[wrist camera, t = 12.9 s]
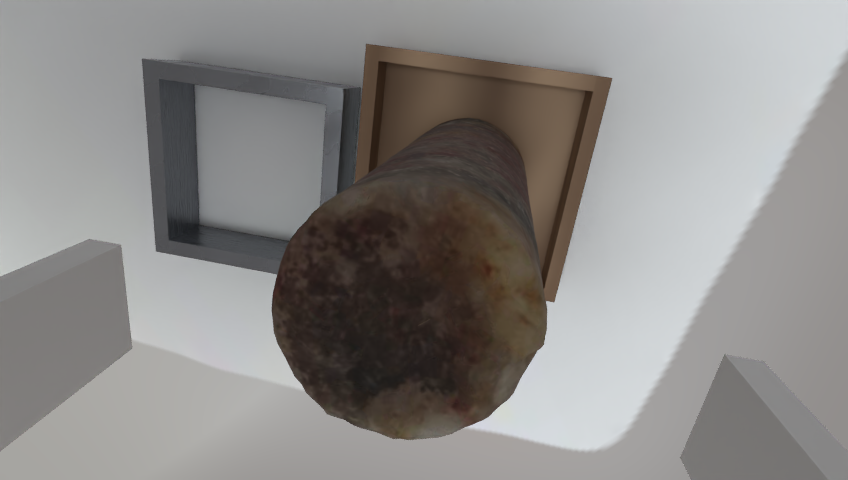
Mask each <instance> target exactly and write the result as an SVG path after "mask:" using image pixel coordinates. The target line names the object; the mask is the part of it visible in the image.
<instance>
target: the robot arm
mask: <svg viewBox="0 0 848 480" xmlns="http://www.w3.org/2000/svg"><path fill="white" fill-rule="evenodd" d="M131 349H132V342H131V333H130V323H129V314H128V305H127V296H126V286H125V277H124V268H123V259H122V250H121V245H119V244H114V243H108V242H103V241H97V240H92V239H88V240H86V241H84V242H81V243H79V244H77V245H74V246H72V247H69V248H67V249H65V250H62V251H60V252H58V253H55V254H53V255H51V256H48V257H46V258H43V259H41V260H39V261H36V262H34V263H32V264H29V265H27V266H25V267H22V268H20V269H17V270H15V271H13V272H10V273H8V274H6V275H3V276H1V277H0V451H1V450H2V449H4V448H5V447H6V446H8V445H9V444H10V443H11V442H13V441H14V440H15V439H17V438H18V437H19V436H20V435H21V434H23V433H24V432H26V431H27V430H28V429H29V428H31V427H32V426H33V425H35V424H36V423H37V422H38V421H40V420H41V419H42V418H43V417H45V416H46V415H47V414H49V413H50V412H51V411H52V410H54V409H55V408H56V407H58V406H59V405H60V404H61V403H63V402H64V401H65V400H67V399H68V398H69V397H70V396H72V395H73V394H74V393H75V392H77V391H78V390H79V389H81V388H82V387H83V386H84V385H86V384H87V383H88V382H90V381H91V380H92V379H94V378H95V377H96V376H97V375H99V374H100V373H101V372H102V371H104V370H105V369H106V368H108V367H109V366H110V365H112V364H113V363H114V362H115V361H117V360H118V359H119V358H121V357H122V356H123V355H124V354H126V353H127V352H128V351H129V350H131ZM680 458H681V460H682V462H683V464H684V466H685V468H686V470H687V472H688V474H689V476H690V478H691V480H848V450H847V449H846V448H845V447H844V446H843V445H842V444H841V443H840V442H839V441H838V440H837V439H836V438H835V437H834V436H833V435H832V433H831V432H830V431H829V430H828V429H827V428H826V427H825V426H824V425H823V424H822V423H821V422H820V421H819V420H818V419H817V417H816V416H815V415H814V414H813V413H812V412H811V411H810V410H809V409H808V408H807V407H806V406H805V405H804V404H803V403H802V402H801V400H800V399H799V398H798V397H797V396H796V395H795V394H794V393H793V392H792V391H791V390H790V389H789V388H788V387H787V386H786V385H785V383H784V382H782V380H781V379H780V378H779V377H778V376H777V375H776V374H775V373H774V372H773V371H772V370H771V369H770V367H769V366H767V364H766V363H765V362H764V361H759V360H753V359H748V358H742V357H737V356H731V355H726V354H725V355H724V357H723V359H722V361H721V364H720V366H719V368H718V371H717V373H716V375H715V378H714V380H713V382H712V385H711V387H710V389H709V392H708V394H707V397H706V399H705V401H704V403H703V406H702V408H701V411H700V413H699V415H698V417H697V420H696V422H695V424H694V427H693V429H692V431H691V434H690V436H689V438H688V441H687V443H686V445H685V448H684V450H683V452H682V455H681V457H680Z"/></svg>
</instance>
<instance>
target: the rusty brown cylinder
mask: <svg viewBox="0 0 848 480" xmlns="http://www.w3.org/2000/svg"><path fill="white" fill-rule="evenodd" d="M272 316H273V327H274V334H275V337H276V340H277V343H278V345H279V347H280V349H281V350H282V352H283V354H284V356H285V358H286V360H287V362H288V364H289V366H290V368H291V370H292V372H293V374H294V376H295V377H296V379H297V380H298V381H299V382H300V383H301V384H302V386H303V388H304V389H305V391H306V393H307V394H308V395H309V396H310V397H311V398H312V399H313V400H315V401H316V402H317V403H318V404H319V405H320V406H321V407H322V408H323V409H324V410H325V412H326V413H327V414H329V415H331V416H334V417H337V418H341V419H344V420H346V421H347V422H349V423H351V424H353V425H355V426H357V427H360V428H363V429H367V430H371V431H375V432H377V433H380V434H382V435H385V436H387V437H390V438H392V439H399V438H400V439H406V440H414V439H426V438H437V437H442V436H445V435H449V434H452V433H454V432H456V431H458V430H460V429H462V428H464V427H467V426H470V425H472V424H475V423H477V422H479V421H482V420H484V419H485V418H487V417H489V416H490V415H491V414H492V413H493V412H494V411H495V410H496V409H497V408H498V407H499V406H500V405H501V404H503V403H504V402H505V401H507V400H508V399H509V398H510V397H511V395H512V394H513V393H514V391H515V389H516V387H517V385H518V382H519V380H520V378H521V377H522V375H523V373H524V372H525V370H526V369H527V367H528V365H529V364H530V362H531V360H532V359H533V357H534V356H535V354H536V352H537V350H539V349H540V348H541V347H542V346H543V345H544V340H545V334H546V330H547V306H546V301H545V295H544V289H543V283H542V276H541V268H540V259H539V253H538V247H537V242H536V238H535V232H534V225H533V218H532V213H531V207H530V201H529V195H528V186H527V176H526V171H525V166H524V161H523V158H522V156H521V153H520V151H519V149H518V147H517V146H516V145H515V143H514V142H513V141H512V140H511V139H510V137H509V136H508V135H507V134H505V133H504V132H503V131H502V130H500V129H499V128H497V127H495V126H494V125H492V124H490V123H488V122H486V121H483V120H480V119H473V118H461V119H454V120H450V121H446V122H443V123H441V124H439V125H437V126H436V127H434V128H432V129H431V130H429V131H427V132H426V133H424V134H423V135H421V136H420V137H419V138H417V139H416V140H414V141H413V142H412V143H411V144H409V145H408V146H407V147H405V148H404V149H402V150H401V151H399V152H398V153H396V154H395V155H393V156H392V157H390V158H389V159H388V160H387V161H386V162H384V163H383V164H381V165H380V166H379V167H377V168H375V169H374V170H373V171H371V172H370V173H368V174H367V175H365V176H364V177H362V178H361V179H359V180H358V181H357V182H356V183H354V184H353V185H351V186H349V187H348V188H347V189H345V190H344V191H342V192H340V193H339V194H337V195H335V196H334V197H332V198H331V199H329V200H328V201H326V202H325V203H323V204H322V205H321V206H320V207H319V208H318V209H317V210H315V211H314V212H313V213H312V214H311V216H310V217H309V218H308V220H307V221H306V222H305V223H304V224H303V225H302V226H301V227H300V228H299V229H298V230H297V232H296V233H295V234H294V235H293V237H292V238H291V239H290V241H289V243H288V245H287V246H286V249H285V252H284V255H283V257H282V260H281V262H280V266H279V270H278V274H277V278H276V283H275V287H274V291H273V299H272Z"/></svg>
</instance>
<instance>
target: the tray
mask: <svg viewBox="0 0 848 480" xmlns="http://www.w3.org/2000/svg"><path fill="white" fill-rule="evenodd" d="M611 81H612V78H607V77H600V76H593V75H586V74H579V73H572V72H564V71H557V70H550V69H543V68H536V67H529V66H521V65H514V64H507V63H500V62H493V61H486V60H478V59H471V58H464V57H457V56H450V55H443V54H435V53H428V52H421V51H414V50H407V49H400V48H392V47H385V46H378V45H371V44H366V52H365V64H364V76H363V88H362V100H361V113H360V125H359V137H358V149H357V161H356V173H355V183H356V182H357V181H358V180H359V179H361V178H362V177H364V176H365V175H367V174H368V173H370V172H371V171H373V170H374V169H375V168H377V167H379V166H380V165H381V164H383V163H384V162H386V161H387V160H388V159H389V158H390V157H392V156H393V155H395V154H396V153H398V152H399V151H401V150H402V149H404V148H405V147H407V146H408V145H409V144H411V143H412V142H413V141H414V140H416V139H417V138H419V137H420V136H421V135H423V134H424V133H426V132H427V131H429V130H431V129H432V128H434V127H436V126H437V125H439V124H441V123H443V122H446V121H450V120H454V119H461V118H473V119H480V120H483V121H486V122H488V123H490V124H492V125H494V126H495V127H497V128H499V129H500V130H502V131H503V132H504V133H505V134H507V135H508V136H509V137H510V139H511V140H512V141H513V142H514V143H515V145H516V146H517V147H518V149H519V151H520V153H521V156H522V158H523V161H524V166H525V171H526V176H527V186H528V195H529V201H530V207H531V213H532V218H533V225H534V232H535V238H536V242H537V247H538V253H539V259H540V268H541V276H542V283H543V289H544V295H545V301H550V302H554V301H555V297H556V293H557V290H558V286H559V282H560V278H561V274H562V270H563V266H564V263H565V259H566V255H567V251H568V247H569V243H570V239H571V236H572V232H573V228H574V224H575V220H576V216H577V212H578V208H579V205H580V201H581V197H582V193H583V189H584V185H585V181H586V178H587V174H588V170H589V166H590V162H591V158H592V154H593V151H594V147H595V143H596V139H597V135H598V131H599V127H600V124H601V120H602V116H603V112H604V108H605V104H606V100H607V97H608V93H609V89H610V85H611Z"/></svg>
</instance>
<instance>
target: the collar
mask: <svg viewBox="0 0 848 480" xmlns="http://www.w3.org/2000/svg"><path fill="white" fill-rule="evenodd" d="M142 65H143V79H144V93H145V107H146V121H147V134H148V148H149V162H150V176H151V189H152V203H153V217H154V231H155V245H156V251H157V252H163V253H168V254H173V255H178V256H184V257H189V258H194V259H199V260H205V261H210V262H215V263H221V264H226V265H231V266H236V267H242V268H247V269H252V270H258V271H263V272H268V273H273V274H278V270H279V266H280V262H281V260H282V257H283V255H284V252H285V249H286V246H287V245H288V243H289V241H284V240H279V239H273V238H268V237H262V236H257V235H251V234H246V233H240V232H235V231H229V230H224V229H218V228H213V227H207V226H202V225H199V207H198V179H197V152H196V125H195V98H194V84H197V85H203V86H210V87H217V88H223V89H230V90H236V91H243V92H249V93H256V94H262V95H269V96H275V97H282V98H288V99H295V100H302V101H308V102H315V103H321V104H326V114H325V132H324V149H323V166H322V184H321V201H320V206H321V205H322V204H323V203H325V202H326V201H328V200H329V199H331V198H332V197H334V196H335V195H337V194H339V193H340V192H342V191H344V190H345V189H347V188H348V187H349V186H351V185H353V173H354V161H355V149H356V136H357V124H358V112H359V100H360V87H354V86H347V85H341V84H334V83H327V82H320V81H314V80H307V79H300V78H293V77H287V76H280V75H273V74H267V73H260V72H253V71H246V70H240V69H233V68H226V67H219V66H213V65H206V64H199V63H192V62H186V61H178V60H158V59H142Z"/></svg>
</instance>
